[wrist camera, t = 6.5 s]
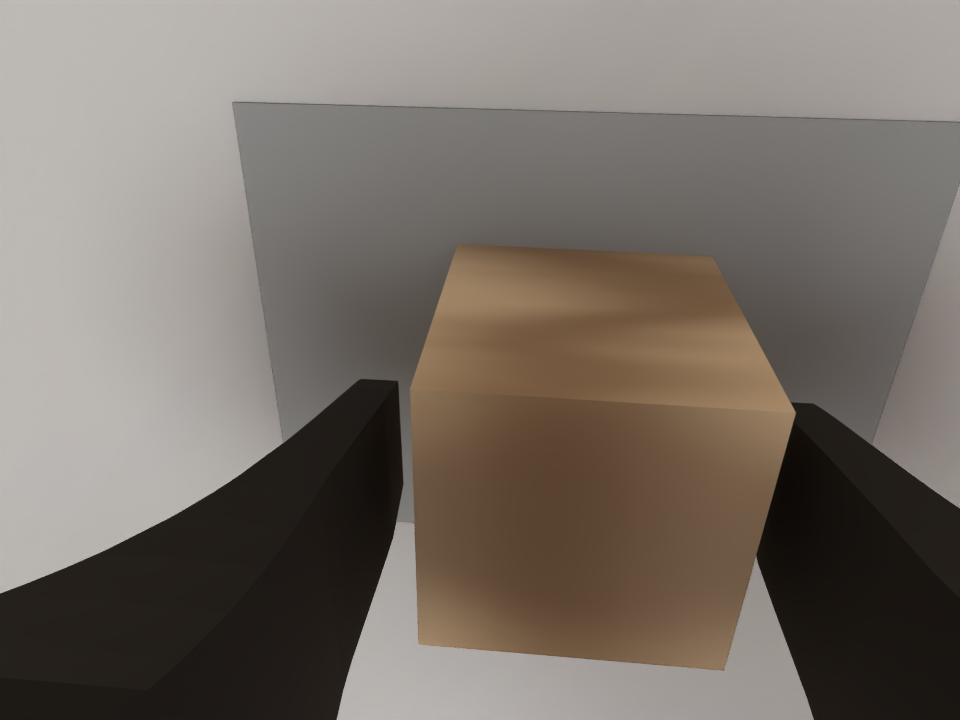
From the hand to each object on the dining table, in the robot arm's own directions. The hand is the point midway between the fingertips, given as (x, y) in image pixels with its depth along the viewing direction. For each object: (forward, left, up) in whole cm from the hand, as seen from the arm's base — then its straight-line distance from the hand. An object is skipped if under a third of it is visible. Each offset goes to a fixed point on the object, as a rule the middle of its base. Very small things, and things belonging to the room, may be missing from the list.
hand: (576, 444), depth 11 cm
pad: (0, 0, -3) cm, 3 cm away
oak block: (0, 0, -3) cm, 3 cm away
